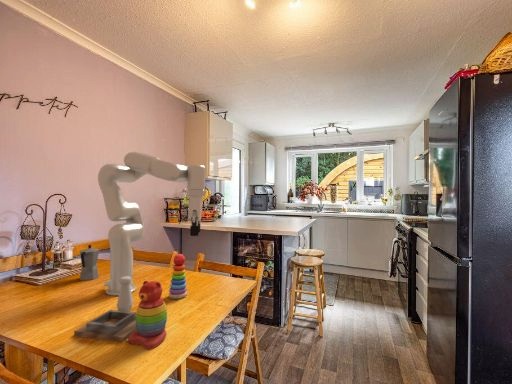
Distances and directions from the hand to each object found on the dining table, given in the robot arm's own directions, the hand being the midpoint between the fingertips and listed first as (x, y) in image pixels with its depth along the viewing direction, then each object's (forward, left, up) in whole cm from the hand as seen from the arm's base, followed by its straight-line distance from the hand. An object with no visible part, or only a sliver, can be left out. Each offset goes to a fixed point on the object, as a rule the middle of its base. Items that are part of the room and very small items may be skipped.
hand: (195, 233), depth 114 cm
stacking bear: (-1, -30, -29) cm, 42 cm away
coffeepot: (-69, +16, -29) cm, 76 cm away
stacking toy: (-10, +4, -29) cm, 31 cm away
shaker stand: (-17, -28, -29) cm, 44 cm away
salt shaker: (-23, -14, -29) cm, 40 cm away
